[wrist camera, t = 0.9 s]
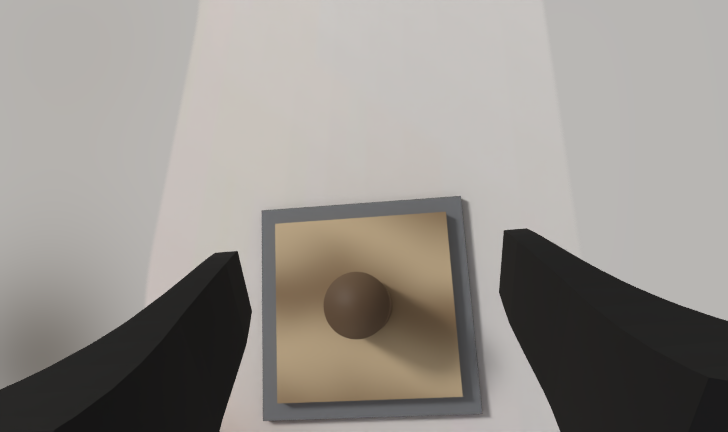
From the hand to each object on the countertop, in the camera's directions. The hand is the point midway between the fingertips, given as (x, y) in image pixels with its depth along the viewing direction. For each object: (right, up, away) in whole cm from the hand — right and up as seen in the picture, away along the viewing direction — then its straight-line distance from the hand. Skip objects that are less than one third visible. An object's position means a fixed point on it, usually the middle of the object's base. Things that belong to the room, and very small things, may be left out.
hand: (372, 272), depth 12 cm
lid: (0, -4, +13) cm, 14 cm away
